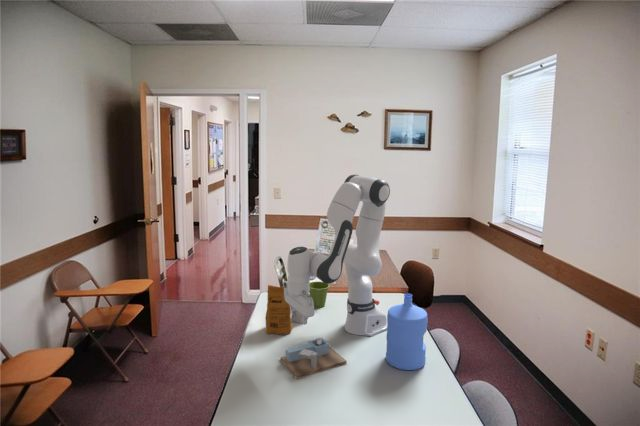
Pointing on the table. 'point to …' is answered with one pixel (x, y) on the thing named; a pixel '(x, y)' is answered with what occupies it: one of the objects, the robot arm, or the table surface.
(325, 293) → the plant pot
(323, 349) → the link
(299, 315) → the supplement box
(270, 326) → the coffee package
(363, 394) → the table surface
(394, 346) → the water jug
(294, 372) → the base board
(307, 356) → the pintle keeper
